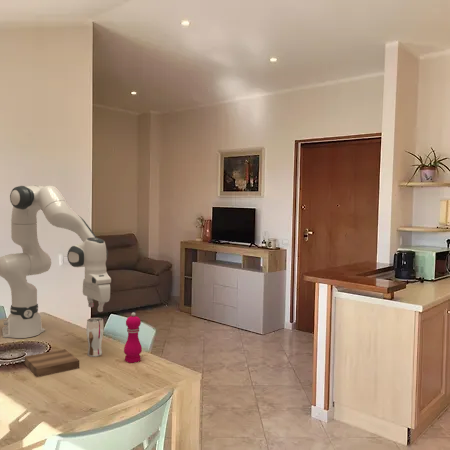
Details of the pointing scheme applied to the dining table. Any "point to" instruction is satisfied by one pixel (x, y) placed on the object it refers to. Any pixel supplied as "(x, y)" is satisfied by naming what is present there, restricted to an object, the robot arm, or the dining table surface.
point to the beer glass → (94, 336)
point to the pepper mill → (132, 339)
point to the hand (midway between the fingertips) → (95, 309)
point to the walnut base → (51, 362)
